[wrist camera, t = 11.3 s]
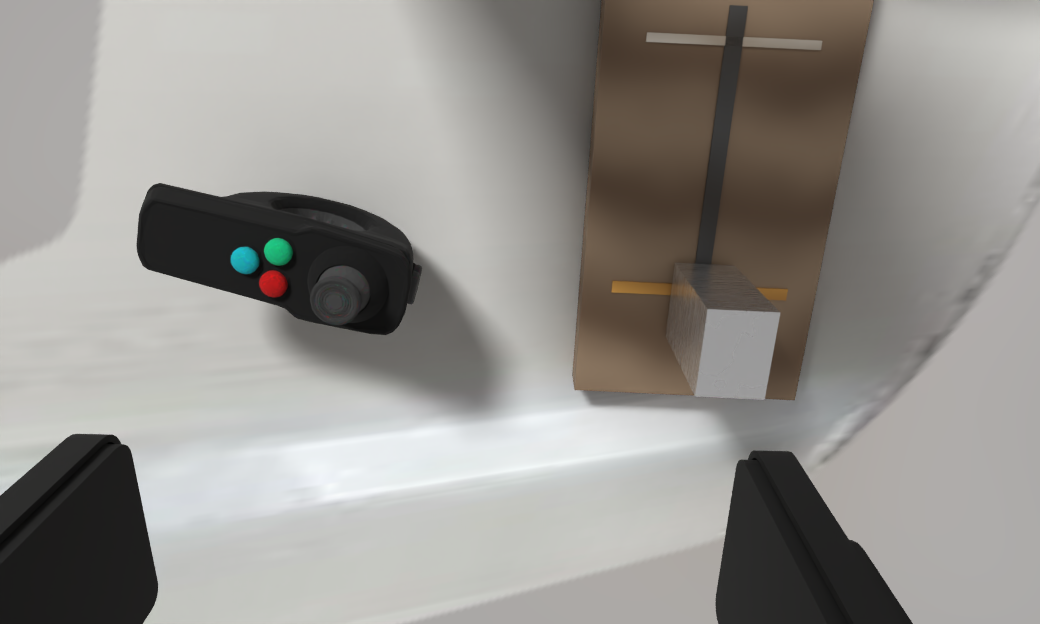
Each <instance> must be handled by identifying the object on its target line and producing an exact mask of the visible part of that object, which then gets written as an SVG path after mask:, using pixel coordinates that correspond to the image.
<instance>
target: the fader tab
mask: <svg viewBox="0 0 1040 624" xmlns="http://www.w3.org/2000/svg"><path fill="white" fill-rule="evenodd" d="M779 318H780V312H779V311H778V310H777V309H776V307H775V306H774V305H773V304H772V303H771V302H770V301H769V300H768V299H767V298H766V297H765V296H764V295H763V294H762V293H761V292H760V291H759V290H758V289H757V288H756V287H755V286H754V285H753V284H752V283H751V282H750V281H749V280H748V279H747V278H746V277H745V276H744V275H743V274H742V273H741V272H740V271H739V270H738V269H737V268H736V267H735V266H734V265H718V264H697V263H676V262H675V264H674V273H673V281H672V289H671V297H670V305H669V313H668V321H667V329H666V338H667V340H668V342H669V344H670V346H671V348H672V350H673V352H674V354H675V356H676V358H677V361H678V363H679V365H680V367H681V369H682V371H683V373H684V375H685V377H686V379H687V381H688V383H689V385H690V387H691V389H692V391H693V393H694V396H695V397H715V398H736V399H757V400H765V395H766V389H767V384H768V378H769V373H770V367H771V362H772V356H773V351H774V345H775V340H776V334H777V329H778V323H779Z"/></svg>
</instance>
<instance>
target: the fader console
mask: <svg viewBox="0 0 1040 624" xmlns="http://www.w3.org/2000/svg"><path fill="white" fill-rule="evenodd" d="M873 2H874V0H601V13H600V26H599V39H598V52H597V65H596V78H595V90H594V103H593V116H592V129H591V142H590V155H589V168H588V181H587V194H586V207H585V220H584V233H583V245H582V258H581V271H580V284H579V297H578V310H577V323H576V336H575V349H574V362H573V382H574V389H575V390H587V391H608V392H630V393H651V394H673V395H694V393H693V391H692V389H691V387H690V385H689V383H688V381H687V379H686V377H685V375H684V373H683V371H682V369H681V367H680V365H679V363H678V361H677V358H676V356H675V354H674V352H673V350H672V348H671V346H670V344H669V342H668V340H667V338H666V329H667V321H668V313H669V305H670V297H671V289H672V281H673V273H674V264H675V262H676V263H697V264H718V265H734V266H735V267H736V268H737V269H738V270H739V271H740V272H741V273H742V274H743V275H744V276H745V277H746V278H747V279H748V280H749V281H750V282H751V283H752V284H753V285H754V286H755V287H756V288H757V289H758V290H759V291H760V292H761V293H762V294H763V295H764V296H765V297H766V298H767V299H768V300H769V301H770V302H771V303H772V304H773V305H774V306H775V307H776V309H777V310H778V311H779V312H780V318H779V323H778V329H777V334H776V340H775V345H774V351H773V356H772V362H771V367H770V373H769V378H768V384H767V389H766V395H765V399H780V400H795V396H796V391H797V386H798V381H799V376H800V371H801V366H802V361H803V356H804V351H805V346H806V341H807V336H808V330H809V325H810V320H811V315H812V310H813V305H814V300H815V295H816V290H817V285H818V280H819V275H820V270H821V265H822V260H823V255H824V250H825V244H826V239H827V234H828V229H829V224H830V219H831V214H832V209H833V204H834V199H835V194H836V189H837V184H838V179H839V174H840V169H841V163H842V158H843V153H844V148H845V143H846V138H847V133H848V128H849V123H850V118H851V113H852V108H853V103H854V98H855V93H856V88H857V83H858V77H859V72H860V67H861V62H862V57H863V52H864V47H865V42H866V37H867V32H868V27H869V22H870V17H871V12H872V7H873Z"/></svg>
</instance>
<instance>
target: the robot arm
mask: <svg viewBox="0 0 1040 624" xmlns="http://www.w3.org/2000/svg"><path fill="white" fill-rule="evenodd" d="M157 593H158V581H157V576H156V571H155V566H154V561H153V556H152V552H151V547H150V542H149V537H148V532H147V527H146V522H145V517H144V512H143V507H142V502H141V497H140V492H139V487H138V482H137V478H136V473H135V468H134V463H133V458H132V453H131V450H130V449H129V447H128V446H126V445H123V444H121V442H120V440H119V439H118V438H117V437H116V436H114V435H101V434H73V435H71V436H69V437H67V438H66V439H65V440H64V441H63V442H62V443H60V444H59V445H58V446H57V447H56V448H55V449H53V450H52V451H51V452H50V453H49V454H48V455H47V456H45V457H44V458H43V459H42V460H41V461H40V462H39V463H37V464H36V465H35V466H34V467H33V468H32V469H30V470H29V471H28V472H27V473H26V474H25V475H24V476H22V477H21V478H20V479H19V480H18V481H17V482H16V483H14V484H13V485H12V486H11V487H10V488H9V489H7V490H6V491H5V492H4V493H3V494H2V495H1V496H0V624H143V622H144V621H145V619H146V618H147V616H148V615H149V613H150V612H151V610H152V608H153V606H154V604H155V601H156V598H157ZM716 614H717V620H718V624H913V623H912V622H911V620H910V619H909V617H908V616H907V614H906V613H905V611H904V610H903V608H902V607H901V605H900V604H899V602H898V601H897V599H896V598H895V596H894V595H893V593H892V592H891V590H890V589H889V587H888V585H887V584H886V582H885V581H884V580H883V578H882V576H881V575H880V573H879V572H878V570H877V569H876V567H875V566H874V564H873V563H872V561H871V560H870V559H869V557H868V555H867V554H866V552H865V551H864V550H863V548H862V547H861V546H860V545H859V544H858V543H856V542H854V541H852V540H849V539H848V538H847V536H846V535H845V533H844V532H843V530H842V528H841V527H840V525H839V524H838V522H837V521H836V519H835V518H834V516H833V515H832V513H831V511H830V510H829V508H828V507H827V505H826V504H825V502H824V501H823V499H822V497H821V496H820V494H819V493H818V491H817V490H816V488H815V487H814V485H813V483H812V482H811V480H810V479H809V477H808V476H807V474H806V473H805V471H804V469H803V468H802V466H801V465H800V463H799V462H798V460H797V459H796V457H795V456H794V455H793V453H792V452H788V451H752V452H751V454H750V456H749V458H748V460H739V461H738V463H737V467H736V472H735V478H734V485H733V491H732V497H731V504H730V510H729V516H728V523H727V529H726V536H725V542H724V548H723V555H722V561H721V568H720V574H719V580H718V587H717V593H716Z"/></svg>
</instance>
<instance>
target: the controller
mask: <svg viewBox="0 0 1040 624" xmlns="http://www.w3.org/2000/svg"><path fill="white" fill-rule="evenodd" d="M137 253H138V256H139V259H140V261H141V263H142V265H143V266H144V267H145V268H147V269H148V270H152V271H155V272H159V273H162V274H166V275H170V276H173V277H177V278H180V279H184V280H188V281H191V282H195V283H198V284H202V285H206V286H209V287H213V288H216V289H220V290H224V291H227V292H231V293H234V294H238V295H242V296H245V297H249V298H252V299H256V300H260V301H263V302H267V303H270V304H274V305H278V306H280V307H283V308H285V309H286V310H287V311H289V312H290V313H291V314H292V315H293V316H294V317H296V318H298V319H301V320H305V321H309V322H314V323H319V324H324V325H329V326H334V327H339V328H344V329H349V330H354V331H359V332H364V333H368V334H380V335H387V334H389V333H392V332H393V331H394V330H395V329H396V328H397V327H398V326H399V324H400V322H401V320H402V318H403V316H404V313H405V310H406V306H407V303H408V304H413V302H414V299H415V295H416V292H417V289H418V284H419V280H420V276H421V271H422V267H421V266H420V265H416V264H415V263H413V252H412V248H411V244H410V242H409V241H408V239H407V237H406V236H405V235H404V233H403V232H401V231H400V230H399V229H398V228H396V227H395V226H393V225H392V224H390V223H389V222H387V221H386V220H384V219H382V218H381V217H378V216H376V215H374V214H372V213H370V212H367V211H365V210H362V209H359V208H356V207H354V206H351V205H347V204H344V203H340V202H335V201H331V200H327V199H323V198H319V197H313V196H307V195H300V194H290V193H280V192H248V193H238V194H234V195H230V196H227V197H218V196H214V195H209V194H205V193H201V192H196V191H192V190H188V189H183V188H179V187H175V186H170V185H166V184H162V183H159V184H155V185H153V186H152V187H151V188H150V189H149V190H148V192H147V194H146V197H145V200H144V202H143V204H142V207H141V211H140V214H139V222H138V235H137Z"/></svg>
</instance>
